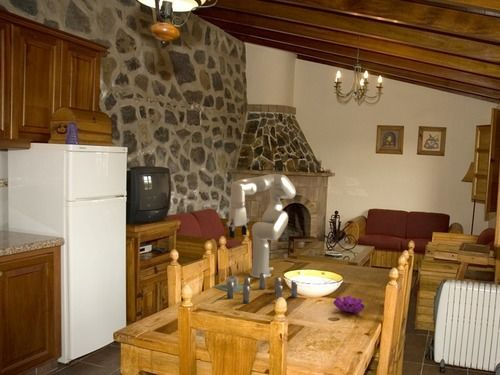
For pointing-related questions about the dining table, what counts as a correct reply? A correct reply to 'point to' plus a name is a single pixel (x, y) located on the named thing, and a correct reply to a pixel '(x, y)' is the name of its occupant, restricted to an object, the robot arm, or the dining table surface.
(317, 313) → the dining table surface
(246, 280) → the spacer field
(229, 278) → the hex nut
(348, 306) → the purple knobbly lump
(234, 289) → the rubber mat
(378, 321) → the dining table surface
